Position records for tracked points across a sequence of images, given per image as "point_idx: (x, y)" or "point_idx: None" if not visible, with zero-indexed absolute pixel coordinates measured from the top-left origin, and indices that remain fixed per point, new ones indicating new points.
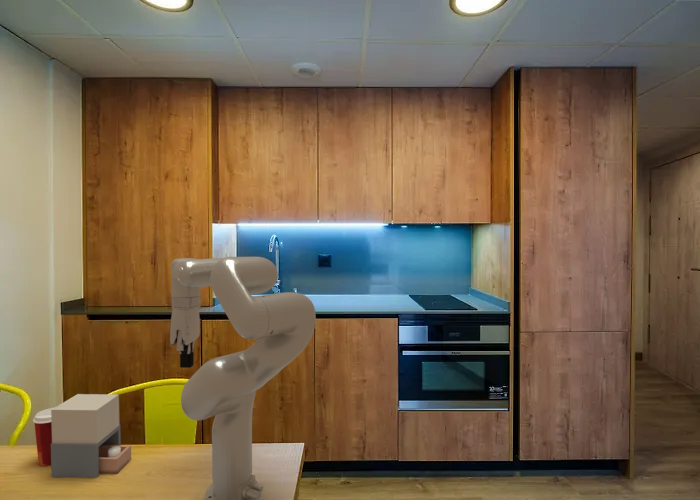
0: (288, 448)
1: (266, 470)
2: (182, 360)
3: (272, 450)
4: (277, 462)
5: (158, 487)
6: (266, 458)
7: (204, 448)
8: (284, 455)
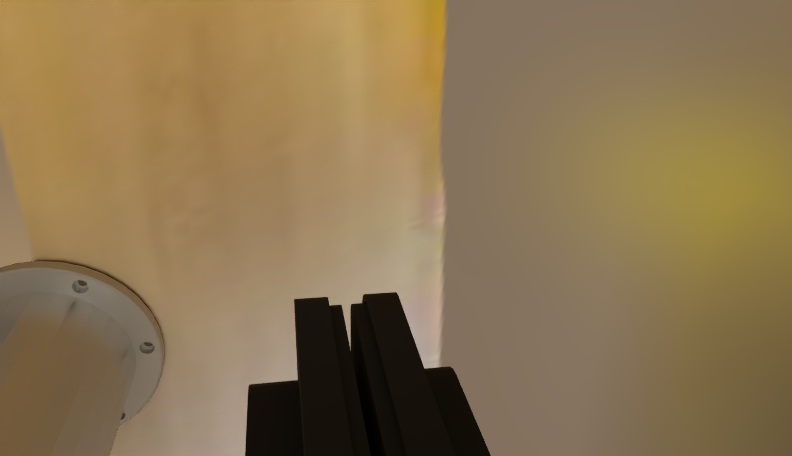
0: None
1: (237, 412)
2: (249, 446)
3: None
4: None
5: (32, 17)
6: None
7: (403, 109)
8: None
